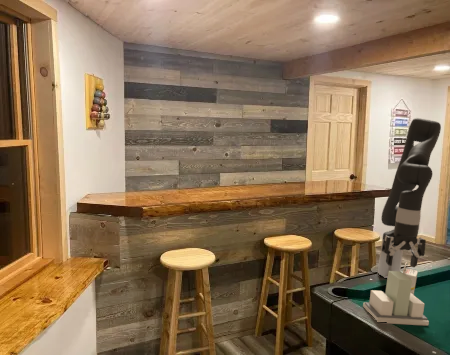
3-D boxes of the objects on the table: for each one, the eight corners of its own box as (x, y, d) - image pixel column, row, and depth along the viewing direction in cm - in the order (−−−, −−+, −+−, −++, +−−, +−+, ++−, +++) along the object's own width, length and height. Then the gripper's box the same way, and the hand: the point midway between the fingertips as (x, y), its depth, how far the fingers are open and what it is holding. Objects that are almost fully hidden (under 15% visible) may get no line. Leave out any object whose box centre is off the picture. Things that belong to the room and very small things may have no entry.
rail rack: (362, 306, 138) (365, 288, 138) (409, 309, 139) (412, 291, 139) (377, 322, 127) (380, 303, 126) (428, 325, 127) (431, 306, 127)
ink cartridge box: (412, 305, 143) (417, 269, 141) (398, 301, 145) (403, 265, 143) (413, 298, 150) (419, 263, 148) (400, 294, 152) (405, 260, 151)
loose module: (383, 304, 137) (388, 270, 135) (395, 305, 137) (400, 271, 135) (394, 315, 129) (399, 279, 127) (407, 315, 129) (412, 280, 127)
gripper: (421, 220, 133) (414, 263, 135) (382, 217, 132) (376, 260, 134) (433, 225, 125) (426, 271, 127) (392, 222, 125) (386, 268, 127)
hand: (400, 265), depth 131 cm, fingers open, 8 cm apart
